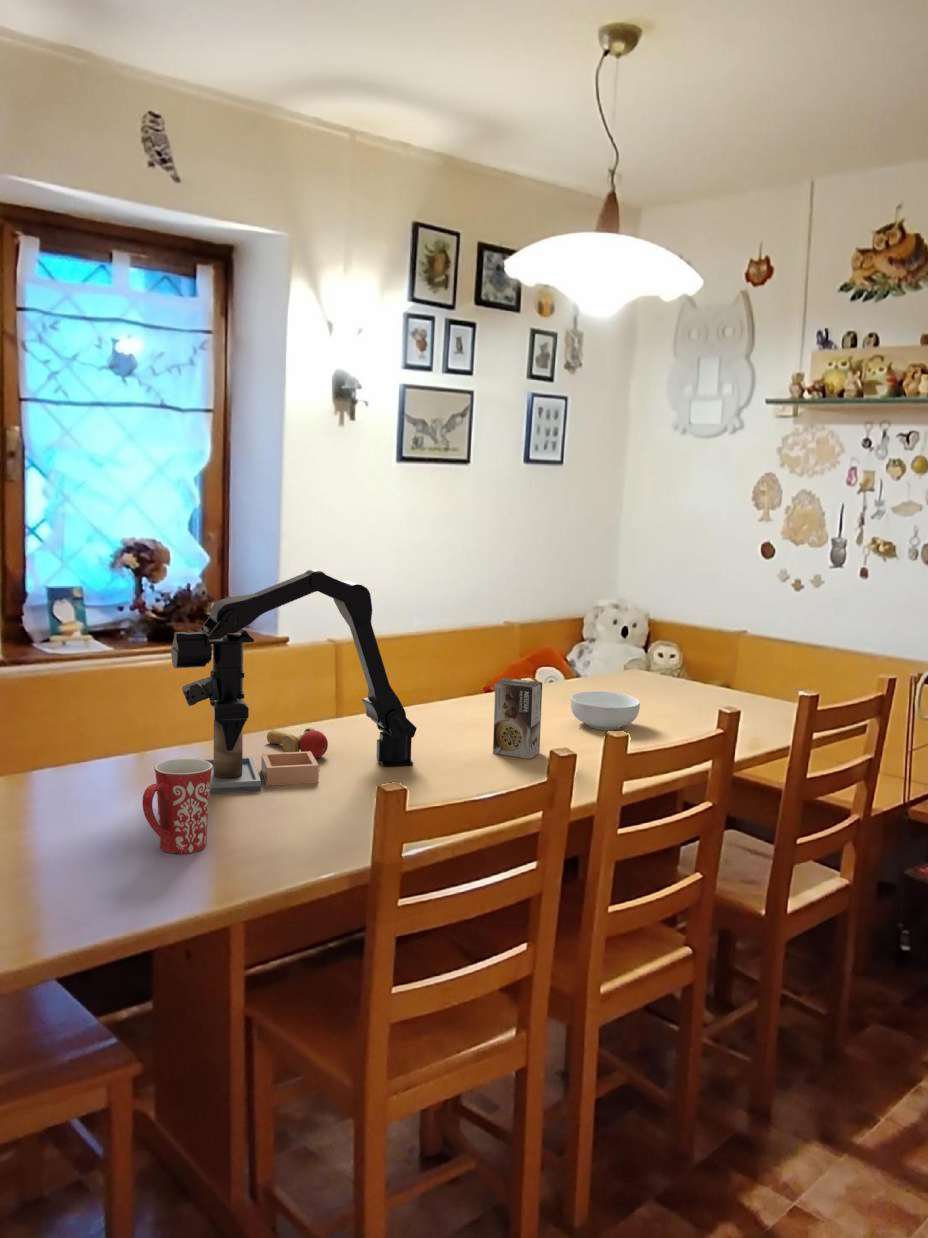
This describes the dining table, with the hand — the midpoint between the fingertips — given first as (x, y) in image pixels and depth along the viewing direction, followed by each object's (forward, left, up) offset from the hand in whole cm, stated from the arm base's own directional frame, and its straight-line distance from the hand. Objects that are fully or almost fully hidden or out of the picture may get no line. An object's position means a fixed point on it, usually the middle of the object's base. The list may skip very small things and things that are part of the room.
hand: (227, 744), depth 201 cm
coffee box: (-63, -8, -8) cm, 64 cm away
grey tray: (0, 0, -7) cm, 7 cm away
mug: (+11, +35, -7) cm, 37 cm away
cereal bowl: (-93, -27, -8) cm, 97 cm away
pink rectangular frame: (-12, 0, -7) cm, 14 cm away
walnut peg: (0, 0, -6) cm, 6 cm away
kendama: (-16, -18, -8) cm, 25 cm away
